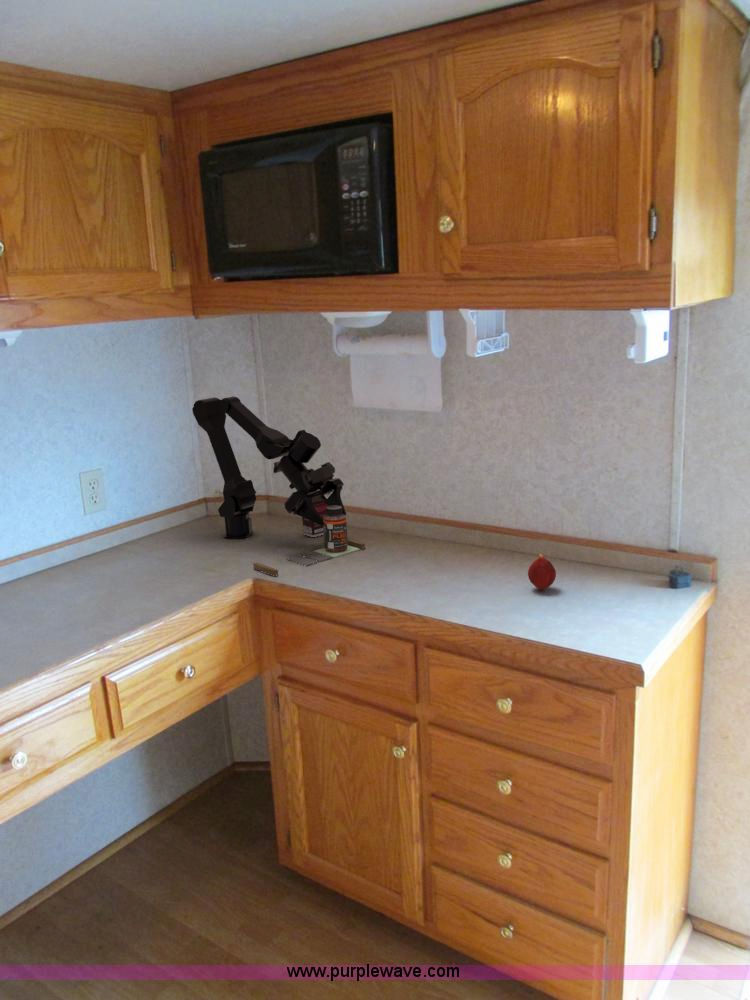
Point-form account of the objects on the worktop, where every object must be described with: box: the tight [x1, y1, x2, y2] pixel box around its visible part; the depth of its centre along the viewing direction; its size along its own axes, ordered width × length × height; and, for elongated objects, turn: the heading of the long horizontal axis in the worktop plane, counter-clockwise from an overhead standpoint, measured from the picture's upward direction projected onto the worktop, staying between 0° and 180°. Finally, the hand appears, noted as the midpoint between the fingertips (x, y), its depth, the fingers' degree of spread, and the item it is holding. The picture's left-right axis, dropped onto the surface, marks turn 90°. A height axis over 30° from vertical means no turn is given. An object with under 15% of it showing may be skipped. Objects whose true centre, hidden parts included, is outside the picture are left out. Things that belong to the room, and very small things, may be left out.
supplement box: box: [301, 477, 334, 538], centre depth 228 cm, size 9×5×16 cm, turn 130°
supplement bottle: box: [323, 505, 348, 552], centre depth 212 cm, size 6×6×11 cm
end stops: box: [252, 538, 366, 576], centre depth 207 cm, size 28×9×2 cm, turn 131°
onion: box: [527, 553, 557, 591], centre depth 176 cm, size 6×6×8 cm
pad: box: [314, 545, 361, 559], centre depth 213 cm, size 9×8×1 cm
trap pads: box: [287, 551, 333, 567], centre depth 207 cm, size 8×8×1 cm
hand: (334, 520), depth 211 cm, fingers open, 9 cm apart
